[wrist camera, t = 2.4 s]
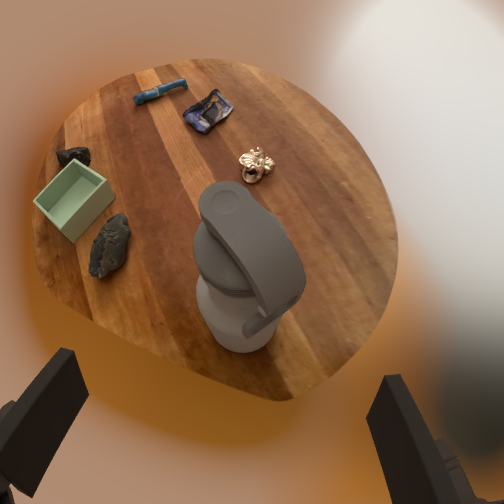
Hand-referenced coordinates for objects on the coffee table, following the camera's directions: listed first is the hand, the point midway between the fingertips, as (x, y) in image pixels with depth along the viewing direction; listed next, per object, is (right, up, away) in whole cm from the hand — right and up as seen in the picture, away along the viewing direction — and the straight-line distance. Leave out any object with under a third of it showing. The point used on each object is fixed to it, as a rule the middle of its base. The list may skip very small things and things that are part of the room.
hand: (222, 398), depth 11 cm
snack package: (-8, +37, +54) cm, 66 cm away
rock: (-40, +26, +48) cm, 68 cm away
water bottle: (0, -5, +33) cm, 33 cm away
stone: (-23, +6, +38) cm, 45 cm away
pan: (-34, +15, +42) cm, 56 cm away
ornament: (+2, +22, +46) cm, 51 cm away
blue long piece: (-23, +48, +59) cm, 79 cm away
